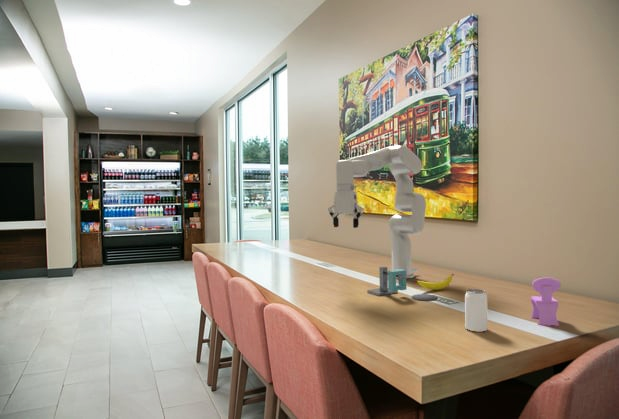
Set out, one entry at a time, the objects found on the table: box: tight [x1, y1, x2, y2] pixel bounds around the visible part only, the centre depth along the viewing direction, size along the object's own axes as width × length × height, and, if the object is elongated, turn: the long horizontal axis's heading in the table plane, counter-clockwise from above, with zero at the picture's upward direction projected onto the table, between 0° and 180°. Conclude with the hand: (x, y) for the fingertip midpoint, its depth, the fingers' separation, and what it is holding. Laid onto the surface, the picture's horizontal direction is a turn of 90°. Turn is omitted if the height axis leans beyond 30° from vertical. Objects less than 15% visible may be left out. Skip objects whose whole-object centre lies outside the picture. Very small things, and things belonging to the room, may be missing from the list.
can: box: [464, 288, 488, 333], centre depth 138 cm, size 6×6×12 cm
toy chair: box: [530, 276, 561, 327], centre depth 144 cm, size 8×9×15 cm
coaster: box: [411, 293, 438, 302], centre depth 179 cm, size 10×10×1 cm
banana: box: [416, 273, 455, 291], centre depth 193 cm, size 3×19×6 cm, turn 111°
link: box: [387, 269, 407, 292], centre depth 181 cm, size 7×3×8 cm, turn 119°
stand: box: [366, 265, 405, 297], centre depth 186 cm, size 10×18×11 cm, turn 28°
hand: (345, 227), depth 195 cm, fingers open, 9 cm apart
